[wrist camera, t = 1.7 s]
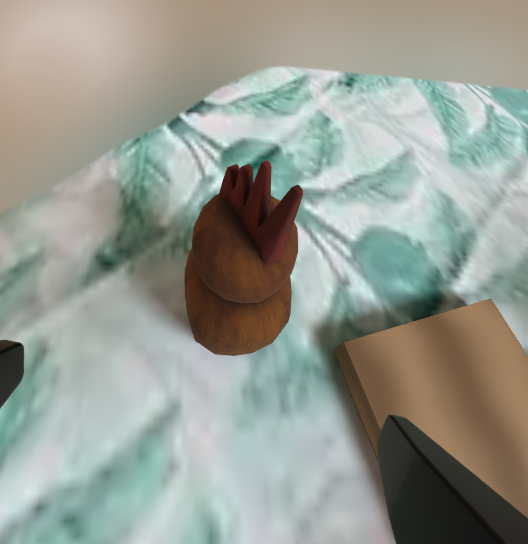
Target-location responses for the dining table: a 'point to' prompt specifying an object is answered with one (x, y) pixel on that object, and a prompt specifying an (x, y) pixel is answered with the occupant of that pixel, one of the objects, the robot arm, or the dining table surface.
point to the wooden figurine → (242, 264)
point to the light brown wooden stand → (450, 390)
